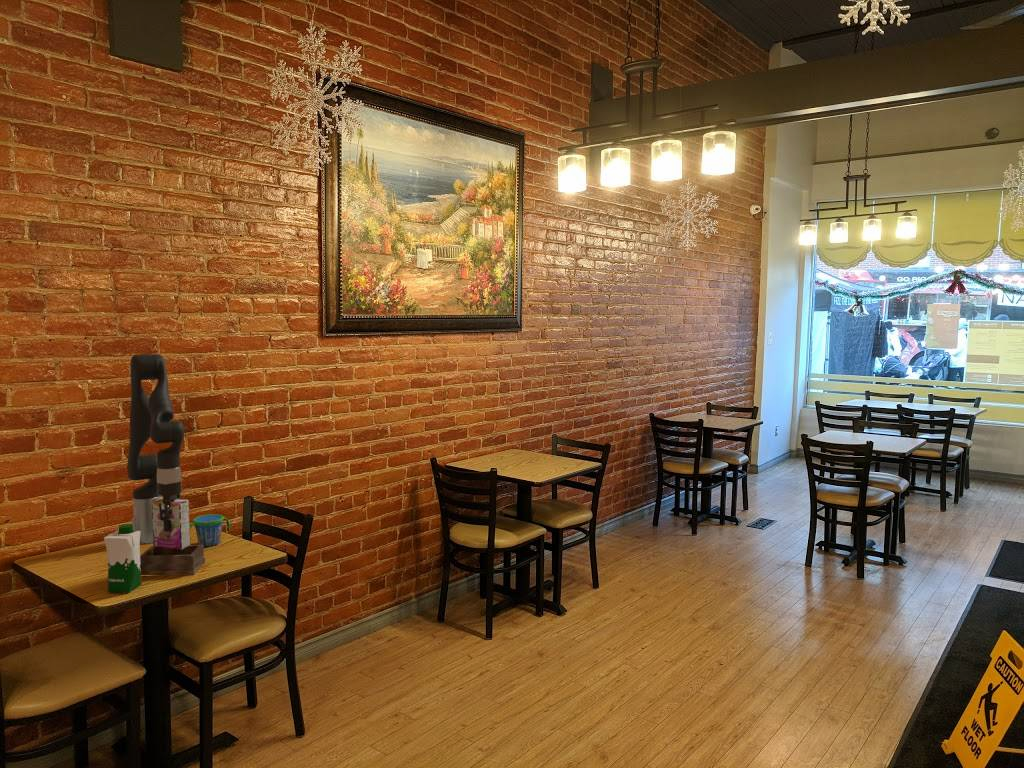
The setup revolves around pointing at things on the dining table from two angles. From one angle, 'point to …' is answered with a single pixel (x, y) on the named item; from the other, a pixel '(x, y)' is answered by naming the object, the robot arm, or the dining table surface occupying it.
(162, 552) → the slot holder
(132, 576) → the milk carton
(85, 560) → the dining table surface
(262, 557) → the dining table surface
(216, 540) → the snack cup
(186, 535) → the candy bar box
